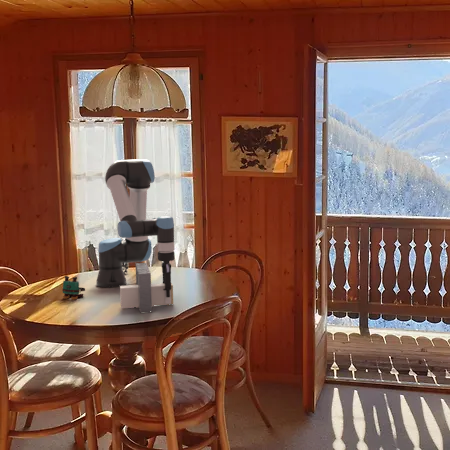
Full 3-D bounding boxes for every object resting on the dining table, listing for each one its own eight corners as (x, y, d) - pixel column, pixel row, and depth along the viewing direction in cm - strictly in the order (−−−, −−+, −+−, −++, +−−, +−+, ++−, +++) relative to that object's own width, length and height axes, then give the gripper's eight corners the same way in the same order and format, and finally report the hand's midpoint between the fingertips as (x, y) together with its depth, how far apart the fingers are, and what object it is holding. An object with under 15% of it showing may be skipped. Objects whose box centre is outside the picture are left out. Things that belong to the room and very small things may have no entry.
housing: (140, 313, 266) (138, 273, 264) (136, 299, 290) (135, 263, 287) (151, 312, 267) (150, 273, 265) (147, 298, 291) (146, 262, 288)
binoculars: (88, 275, 297) (75, 277, 288) (87, 297, 298) (75, 300, 288) (72, 274, 301) (59, 276, 291) (71, 295, 301) (59, 298, 292)
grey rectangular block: (121, 308, 274) (120, 288, 273) (120, 305, 279) (120, 285, 278) (173, 305, 278) (172, 285, 277) (172, 302, 283) (171, 282, 282)
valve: (104, 273, 349) (120, 275, 342) (104, 261, 348) (119, 263, 341) (113, 271, 354) (128, 273, 347) (112, 259, 353) (128, 261, 346)
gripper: (155, 248, 285) (157, 298, 288) (159, 255, 268) (160, 308, 271) (172, 247, 287) (173, 297, 290) (176, 254, 269) (178, 307, 272)
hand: (167, 302), depth 280 cm, fingers closed on grey rectangular block, 5 cm apart
